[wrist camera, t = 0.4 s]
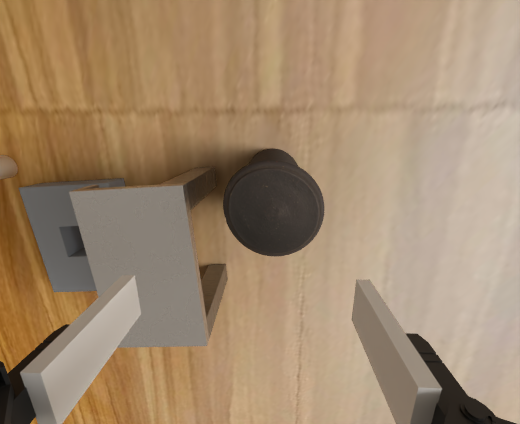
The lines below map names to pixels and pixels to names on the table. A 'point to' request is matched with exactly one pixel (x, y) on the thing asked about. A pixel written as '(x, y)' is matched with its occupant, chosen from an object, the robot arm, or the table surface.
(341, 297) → the table surface
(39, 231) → the socket block
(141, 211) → the grey legged flat piece
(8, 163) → the peg
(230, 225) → the container
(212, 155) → the table surface
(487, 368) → the table surface
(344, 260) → the table surface
